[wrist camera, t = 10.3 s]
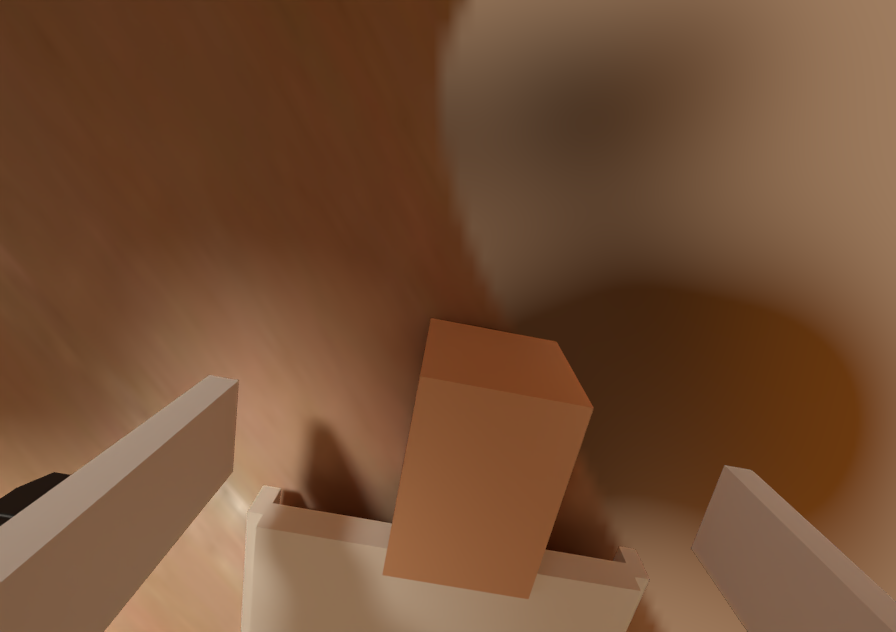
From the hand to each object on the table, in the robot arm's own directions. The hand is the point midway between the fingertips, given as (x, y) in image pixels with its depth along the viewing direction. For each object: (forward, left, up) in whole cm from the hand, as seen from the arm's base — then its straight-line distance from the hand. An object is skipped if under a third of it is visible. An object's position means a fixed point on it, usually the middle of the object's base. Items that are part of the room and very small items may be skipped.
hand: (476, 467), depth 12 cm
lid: (+6, 0, -3) cm, 7 cm away
